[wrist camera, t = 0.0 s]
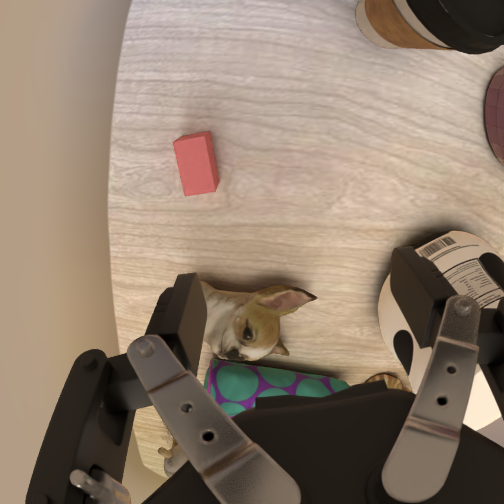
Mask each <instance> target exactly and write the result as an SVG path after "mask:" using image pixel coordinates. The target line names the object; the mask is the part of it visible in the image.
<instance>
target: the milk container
mask: <svg viewBox="0 0 504 504" xmlns="http://www.w3.org/2000/svg"><path fill="white" fill-rule="evenodd" d="M413 248H414V250H415V251H416V252H417V253H418V255H419V256H420V257H422V256H424V257H426V258H427V259H429V260H430V261H432V262H433V263H434V264H435V265H436V266H437V268H438V269H439V271H441V273H442V274H443V275H444V277H445V278H446V279H447V280H448V281H449V283H450V284H451V285H452V286H453V288H454V289H455V290H456V292H457V293H458V294H459V295H466V296H469V297H471V298H473V299H474V300H476V301H477V302H478V304H479V305H480V308H497V306H498V303H499V301H500V299H502V298H503V297H504V260H503V259H502V257H501V256H500V254H499V253H498V252H497V251H496V250H495V249H494V248H493V247H492V246H491V245H490V244H488V243H487V242H486V241H484V240H482V239H481V238H479V237H477V236H475V235H472V234H470V233H467V232H463V231H447V232H443V233H438V234H435V235H432V236H430V237H428V238H426V239H424V240H422V241H421V242H419V243H417V244H416V245H414V246H413ZM390 274H391V271H390V273H389V274H388V276H387V278H386V280H385V282H384V284H383V286H382V289H381V293H380V297H379V302H378V319H379V325H380V330H381V333H382V337H383V339H384V342H385V344H386V346H387V348H388V349H389V351H390V352H391V354H392V355H393V356H394V358H395V359H396V360H397V361H398V362H399V363H400V364H401V365H402V367H403V368H404V369H405V371H406V373H407V376H408V378H409V381H410V384H411V387H412V390H413V393H414V394H417V391H418V389H419V386H420V384H421V381H422V378H423V376H424V373H425V370H426V367H427V364H428V362H429V359H430V356H431V353H432V349H431V347H427V348H423V349H420V347H419V345H418V343H417V341H416V339H415V337H414V335H413V333H412V331H411V329H410V327H409V325H408V323H407V321H406V319H405V318H404V316H403V314H402V312H401V310H400V308H399V306H398V304H397V303H396V301H395V299H394V297H393V295H392V293H391V289H390ZM501 416H502V415H501V413H500V410H499V408H498V405H497V403H496V401H495V398H494V396H493V394H492V392H491V389H490V387H489V385H488V383H487V381H486V379H485V376H484V374H483V372H482V370H481V368H480V366H479V364H477V365H476V370H475V375H474V380H473V385H472V389H471V393H470V398H469V402H468V406H467V409H466V413H465V417H464V420H463V424H465V425H467V426H468V427H470V428H472V429H473V430H475V431H476V430H478V429H480V428H482V427H484V426H486V425H488V424H490V423H491V422H493V421H494V420H496V419H498V418H499V417H501Z"/></svg>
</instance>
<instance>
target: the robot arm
mask: <svg viewBox="0 0 504 504" xmlns="http://www.w3.org/2000/svg"><path fill="white" fill-rule="evenodd" d="M390 289H391V293H392V295H393V297H394V299H395V301H396V303H397V304H398V306H399V308H400V310H401V312H402V314H403V316H404V318H405V319H406V321H407V323H408V325H409V327H410V329H411V331H412V333H413V335H414V337H415V339H416V341H417V343H418V345H419V347H420V349H423V348H427V347H431V349H432V353H431V356H430V359H429V362H428V364H427V367H426V370H425V373H424V376H423V378H422V381H421V384H420V386H419V389H418V391H417V394H414V393H412V392H409V391H406V390H401V389H395V388H388V387H387V384H386V382H385V379H383V380H378V381H373V382H368V383H363V384H357V385H353V386H351V387H348V388H346V389H343V390H341V391H338V392H336V393H333V394H331V395H328V396H325V397H310V396H298V395H279V396H268V397H255V407H253V408H249V409H247V410H244V411H242V412H240V413H238V414H236V415H235V416H233V417H232V418H230V417H229V416H228V415H227V413H226V412H225V411H224V410H223V409H222V408H221V407H220V405H219V404H218V403H217V402H216V401H215V400H214V398H213V397H212V396H211V395H210V394H209V393H208V391H207V390H206V389H205V388H204V387H203V385H202V384H201V383H200V382H199V380H198V379H197V378H196V377H197V371H198V365H199V360H200V354H201V349H202V343H203V338H204V332H205V327H206V321H207V304H206V301H205V297H204V294H203V290H202V287H201V283H200V280H199V276H198V274H197V273H187V274H179V275H178V276H177V279H176V281H175V284H174V287H169V288H167V289H166V290H165V291H164V292H163V293H162V294H161V295H160V297H159V299H158V302H157V306H156V307H155V309H154V313H153V314H152V317H151V320H150V322H149V325H148V327H147V330H146V332H145V335H144V336H142V337H139V338H137V339H136V340H134V341H133V342H132V343H131V344H130V346H129V347H128V349H127V353H125V354H121V355H118V356H114V357H110V358H107V356H106V355H105V353H104V352H103V351H101V350H99V349H92V350H88V351H86V352H84V353H82V354H81V355H80V356H79V357H78V358H77V359H76V360H75V362H74V364H73V366H72V368H71V371H70V373H69V375H68V378H67V380H66V382H65V385H64V388H63V390H62V392H61V395H60V397H59V400H58V402H57V405H56V407H55V410H54V412H53V415H52V418H51V420H50V423H49V426H48V429H47V431H46V434H45V437H44V440H43V443H42V446H41V449H40V452H39V455H38V458H37V461H36V465H35V468H34V471H33V474H32V478H31V481H30V484H29V488H28V492H27V495H26V500H25V502H26V503H25V504H131V497H130V494H129V492H128V490H127V489H126V488H125V487H124V486H123V485H122V478H123V473H124V467H125V462H126V456H127V451H128V446H129V441H130V436H131V431H132V426H133V421H134V417H135V412H136V409H139V408H143V407H148V406H151V405H154V407H155V409H156V410H157V412H158V414H159V415H160V417H161V419H162V420H163V422H164V423H165V425H166V427H167V428H168V430H169V431H170V433H171V434H172V436H173V437H174V439H175V440H176V442H177V443H178V445H179V446H180V448H181V449H182V451H183V452H184V454H185V455H186V457H187V458H188V459H189V460H188V461H187V462H186V463H185V464H184V465H183V466H182V467H180V468H179V469H178V470H177V471H176V472H175V473H174V474H173V475H172V476H171V477H170V478H169V479H168V480H167V481H166V482H165V483H164V484H163V485H161V486H160V487H159V488H158V489H157V490H156V491H155V492H154V493H153V494H152V495H151V496H149V497H148V498H147V499H146V500H145V501H144V502H143V503H141V504H504V448H503V447H501V446H500V445H498V444H497V443H495V442H493V441H492V440H490V439H488V438H487V437H485V436H483V435H482V434H480V433H478V432H477V431H475V430H473V429H472V428H470V427H468V426H467V425H465V424H463V420H464V417H465V413H466V409H467V406H468V402H469V398H470V393H471V389H472V385H473V380H474V375H475V370H476V365H477V364H479V366H480V368H481V370H482V372H483V374H484V376H485V379H486V381H487V383H488V385H489V387H490V389H491V392H492V394H493V396H494V398H495V401H496V403H497V405H498V408H499V410H500V413H501V415H502V418H503V420H504V297H503V298H502V299H500V301H499V303H498V306H497V308H480V305H479V304H478V302H477V301H476V300H474V299H473V298H471V297H469V296H466V295H459V294H458V293H457V292H456V290H455V289H454V288H453V286H452V285H451V284H450V283H449V281H448V280H447V279H446V278H445V277H444V275H443V274H442V273H441V271H439V269H438V268H437V266H436V265H435V264H434V263H433V262H432V261H430V260H429V259H427V258H426V257H424V256H422V257H420V256H419V255H418V253H417V252H416V251H415V250H414V248H413V247H411V246H408V247H401V248H395V249H394V250H393V253H392V264H391V274H390Z"/></svg>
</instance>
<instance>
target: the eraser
mask: <svg viewBox="0 0 504 504" xmlns="http://www.w3.org/2000/svg"><path fill="white" fill-rule="evenodd" d="M173 145H174V149H175V154H176V159H177V163H178V168H179V172H180V177H181V181H182V186H183V190H184V194H185V196H190V195H196V194H203V193H209V192H215V191H216V189H217V186H218V184H219V177H218V172H217V166H216V161H215V156H214V150H213V145H212V139H211V134H210V131H207V132H202V133H196V134H191V135H186V136H181V137H180V138H178V139H177V140H175V141H174V142H173Z"/></svg>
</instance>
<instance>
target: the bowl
mask: <svg viewBox="0 0 504 504" xmlns="http://www.w3.org/2000/svg"><path fill="white" fill-rule="evenodd" d="M485 123H486V128H487V133H488V138H489V142H490V144H491V146H492V149H493V151H494V153H495V156H496V157H497V158H498V159H499V161H500V162H501V163H502V164H503V165H504V67H503V68H502V69H501V70H499V71H498V72H497V73H496V74H495V75H494V77H493V79H492V81H491V83H490V85H489V87H488V93H487V98H486V103H485Z"/></svg>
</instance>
